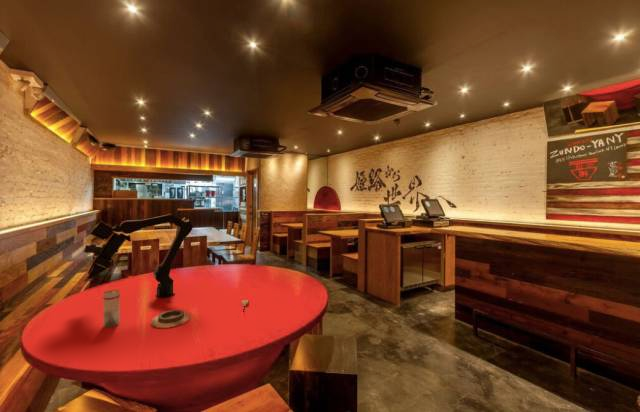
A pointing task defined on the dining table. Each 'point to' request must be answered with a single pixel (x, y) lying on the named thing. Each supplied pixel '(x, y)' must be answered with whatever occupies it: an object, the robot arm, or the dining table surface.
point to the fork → (244, 302)
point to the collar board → (160, 325)
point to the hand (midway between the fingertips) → (88, 276)
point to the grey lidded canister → (111, 308)
